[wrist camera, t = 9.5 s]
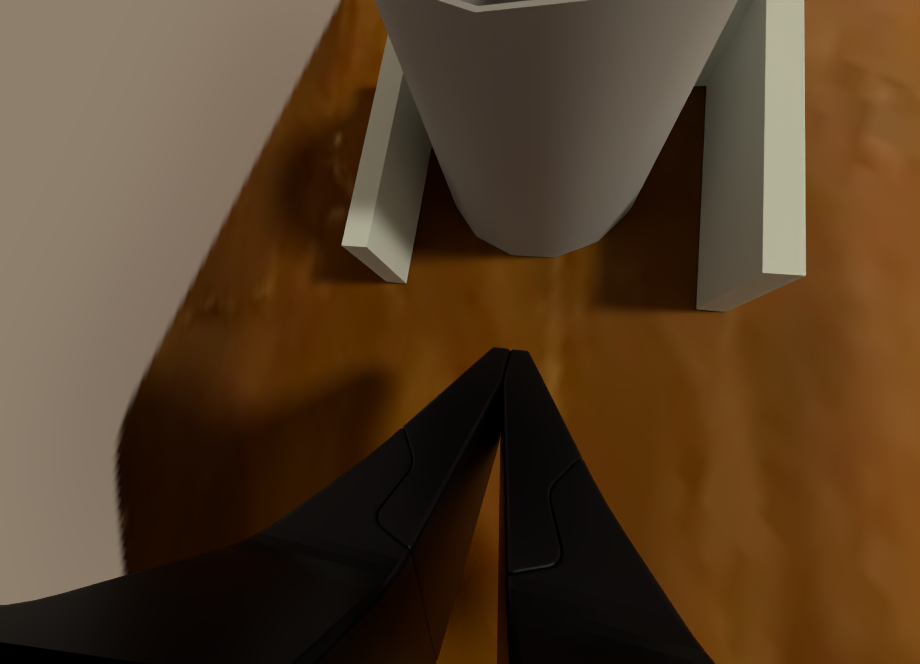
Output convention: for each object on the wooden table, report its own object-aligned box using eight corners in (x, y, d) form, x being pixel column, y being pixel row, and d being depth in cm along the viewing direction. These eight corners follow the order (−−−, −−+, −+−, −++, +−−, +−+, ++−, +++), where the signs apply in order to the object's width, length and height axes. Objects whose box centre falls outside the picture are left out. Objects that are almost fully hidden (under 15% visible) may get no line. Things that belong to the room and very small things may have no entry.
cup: (490, 80, 17) (436, -319, 8) (665, 105, 15) (893, -402, 6) (428, 232, 16) (280, -6, 7) (606, 281, 14) (756, 37, 5)
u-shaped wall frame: (725, 311, 13) (805, 275, 9) (386, 281, 16) (341, 245, 12) (733, 64, 15) (803, -52, 11) (425, 81, 18) (396, -6, 14)
